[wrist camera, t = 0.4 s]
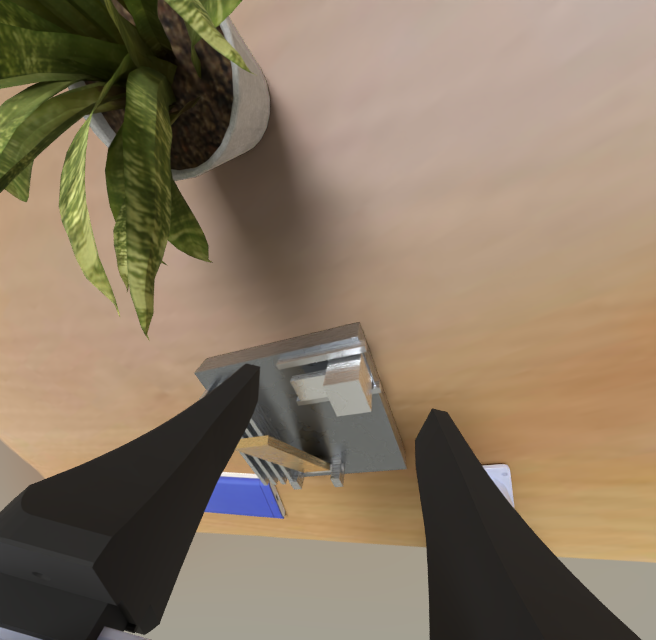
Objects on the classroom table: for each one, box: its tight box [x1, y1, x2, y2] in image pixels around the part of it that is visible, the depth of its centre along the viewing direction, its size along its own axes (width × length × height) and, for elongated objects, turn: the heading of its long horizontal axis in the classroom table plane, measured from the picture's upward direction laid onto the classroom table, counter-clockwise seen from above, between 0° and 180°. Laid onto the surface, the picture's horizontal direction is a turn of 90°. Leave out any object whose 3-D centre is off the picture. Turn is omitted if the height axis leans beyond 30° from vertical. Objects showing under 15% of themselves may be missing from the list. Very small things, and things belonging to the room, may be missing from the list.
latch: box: [290, 353, 372, 417], centre depth 20 cm, size 3×5×3 cm, turn 110°
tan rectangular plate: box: [235, 435, 330, 473], centre depth 23 cm, size 11×3×1 cm, turn 21°
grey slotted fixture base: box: [195, 322, 407, 489], centre depth 25 cm, size 15×15×4 cm
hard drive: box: [204, 472, 285, 519], centre depth 37 cm, size 2×8×12 cm
